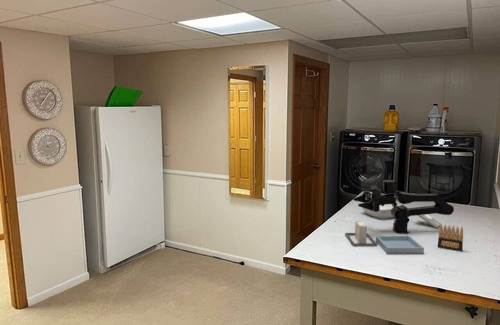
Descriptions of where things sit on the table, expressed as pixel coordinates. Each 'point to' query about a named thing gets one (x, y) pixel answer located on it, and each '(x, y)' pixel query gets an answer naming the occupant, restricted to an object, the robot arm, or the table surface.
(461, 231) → the ammunition clip
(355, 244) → the holder frame
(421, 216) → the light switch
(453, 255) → the table surface
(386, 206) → the white bowl
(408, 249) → the tray
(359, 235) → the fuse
